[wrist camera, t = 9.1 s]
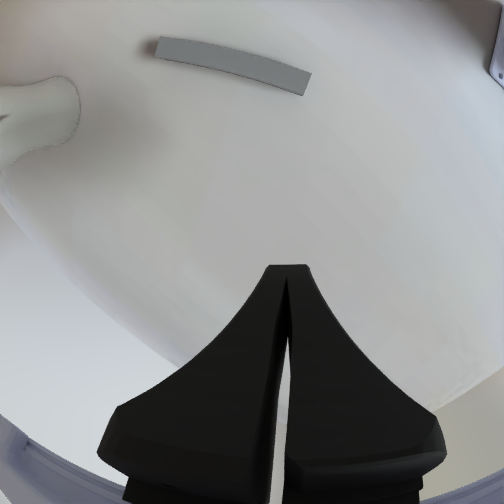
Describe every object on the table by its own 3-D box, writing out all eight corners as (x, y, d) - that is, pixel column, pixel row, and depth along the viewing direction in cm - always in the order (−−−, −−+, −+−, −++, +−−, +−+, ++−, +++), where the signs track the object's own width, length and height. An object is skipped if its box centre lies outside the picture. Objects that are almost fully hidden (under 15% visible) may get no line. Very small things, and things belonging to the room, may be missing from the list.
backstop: (309, 76, 14) (311, 73, 13) (301, 95, 15) (303, 95, 13) (173, 41, 14) (160, 36, 12) (166, 59, 15) (153, 57, 13)
